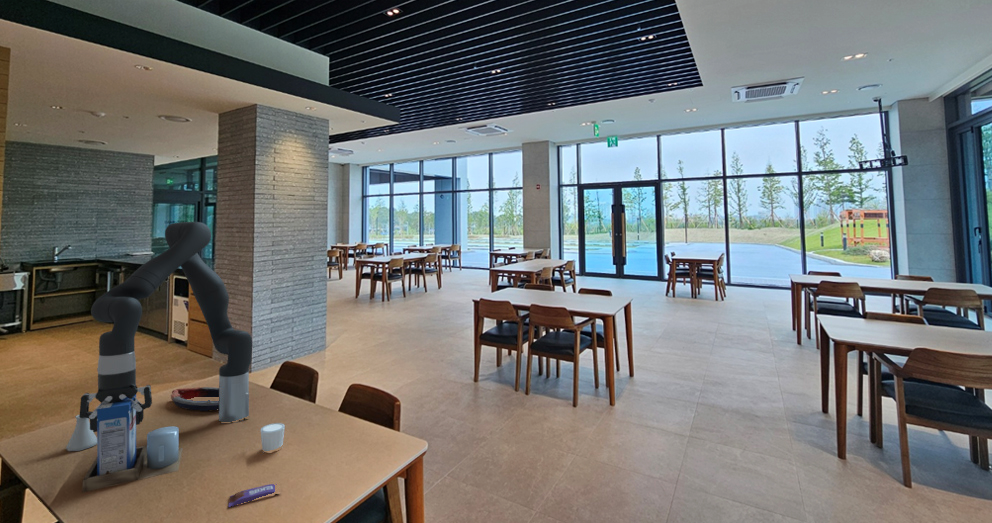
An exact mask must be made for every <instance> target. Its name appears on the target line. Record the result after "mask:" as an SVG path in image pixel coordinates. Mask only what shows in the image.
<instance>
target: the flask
mask: <svg viewBox="0 0 992 523" xmlns="http://www.w3.org/2000/svg"><path fill="white" fill-rule="evenodd" d="M79 416H80V414H77V415H76V416H74V417H75V419H76V424H75V427H74V431H73V432H72V434H71V437H70V439H69V441H68V443H67V445H66V446H65V450H67V451H68V452H80V451H84V450H86V449H90V448H92V447H94V446H97V435H96V434H95V432H93V430H90V419H89V418H80V417H79Z"/></svg>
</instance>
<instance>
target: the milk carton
mask: <svg viewBox="0 0 992 523" xmlns="http://www.w3.org/2000/svg"><path fill="white" fill-rule="evenodd" d="M134 397H135V398H137V394H136V395H135V396H134ZM134 397H133V398H132V400H134ZM99 405H100V404H99ZM99 405H98V406H99ZM98 406H97V407H98ZM96 437H97V444H96V447H97V449H96V450H97V456H96V457H97V476H100V475H104V474H109V473H113V472H118V471H123V470H127V469H132V468H133V467H134V465H135V462H136V447H137V425H136V410H135V409H134V408H133V407H132V406H131V401H126V402H124V401H122V402H115V403H108V404H105V405H100V406H99V407H98V409H97V432H96Z"/></svg>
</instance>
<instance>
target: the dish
mask: <svg viewBox="0 0 992 523" xmlns="http://www.w3.org/2000/svg"><path fill="white" fill-rule="evenodd" d="M194 397H219V387H213V386H211V387H210V386H208V387H207V386H203V387H200V386H199V387H185V388H176V389H173V390H172V391H171V395H170V399H171V400H172V402H173V404H174V405H175V406H177V407H179V408H182V409H185V410H189V409H190V411H196V410H200V411H199V412H209V411H208V410H215V411H218V410H217V409H219V401H210V400H208V401H193V400H187V399H191V398H194Z"/></svg>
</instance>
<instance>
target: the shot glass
mask: <svg viewBox="0 0 992 523" xmlns="http://www.w3.org/2000/svg"><path fill="white" fill-rule="evenodd" d="M285 427H286V425H285V424H284V423H281V422H274V423H269V424H266V425H264V426H262V427H261V428H260V438H261V447H262V449H261V450H264V451H270V450H274V449H277V448H279V447H281V446H282V445H283V446H284V444H283V443H284V435H285V429H286V428H285Z"/></svg>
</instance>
